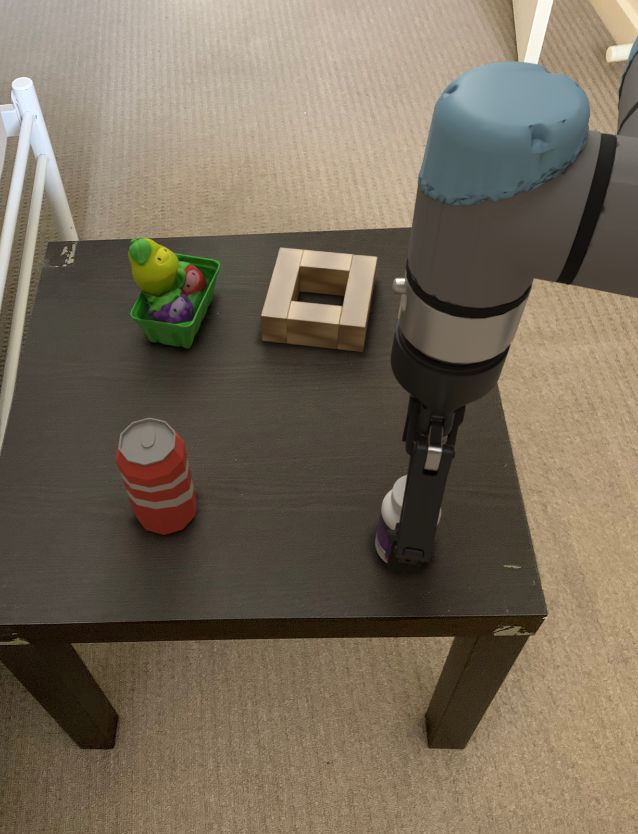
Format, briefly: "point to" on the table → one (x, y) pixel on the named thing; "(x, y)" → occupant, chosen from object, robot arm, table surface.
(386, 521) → the pill bottle
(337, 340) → the block
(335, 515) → the table surface
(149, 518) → the beverage can
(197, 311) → the fruit basket
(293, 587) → the table surface
